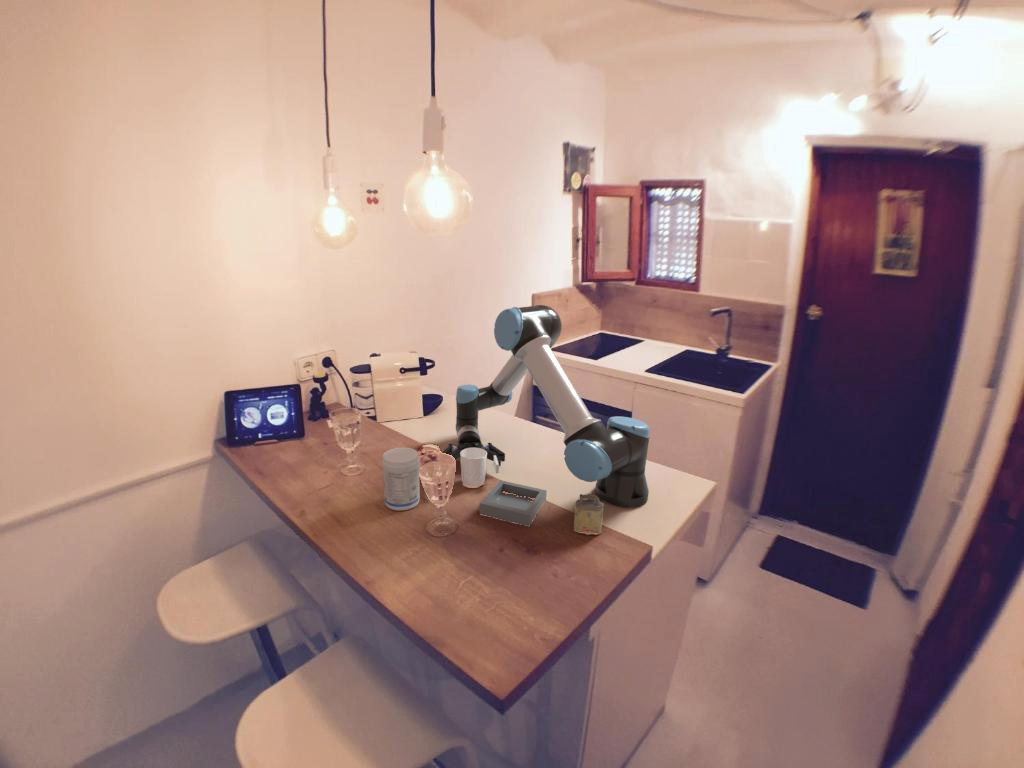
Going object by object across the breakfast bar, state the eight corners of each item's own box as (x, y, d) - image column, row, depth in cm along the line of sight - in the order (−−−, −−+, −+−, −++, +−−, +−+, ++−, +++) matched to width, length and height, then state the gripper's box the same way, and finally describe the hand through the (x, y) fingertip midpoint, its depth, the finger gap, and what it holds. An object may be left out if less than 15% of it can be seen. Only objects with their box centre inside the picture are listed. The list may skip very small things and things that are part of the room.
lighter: (600, 528, 127) (604, 493, 124) (602, 537, 124) (605, 501, 121) (573, 526, 128) (575, 491, 125) (573, 534, 124) (576, 499, 121)
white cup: (482, 491, 143) (483, 460, 140) (456, 488, 145) (456, 457, 142) (489, 479, 151) (489, 449, 148) (464, 476, 152) (464, 446, 149)
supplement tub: (387, 494, 140) (385, 446, 136) (421, 493, 141) (420, 446, 137) (382, 512, 131) (379, 462, 127) (418, 511, 132) (417, 461, 128)
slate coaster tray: (545, 503, 139) (546, 490, 138) (529, 528, 127) (529, 515, 125) (500, 492, 144) (500, 480, 143) (479, 516, 131) (479, 503, 130)
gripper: (506, 449, 166) (516, 479, 146) (430, 452, 163) (430, 483, 142) (506, 429, 164) (517, 456, 144) (430, 431, 160) (430, 459, 140)
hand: (474, 470), depth 143 cm, fingers open, 13 cm apart
